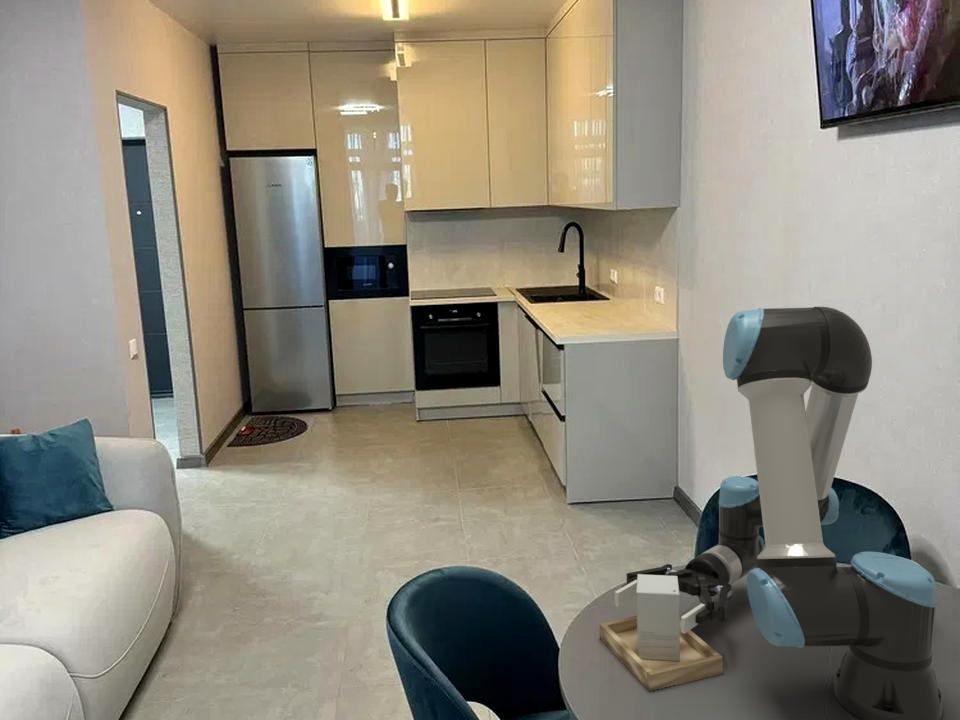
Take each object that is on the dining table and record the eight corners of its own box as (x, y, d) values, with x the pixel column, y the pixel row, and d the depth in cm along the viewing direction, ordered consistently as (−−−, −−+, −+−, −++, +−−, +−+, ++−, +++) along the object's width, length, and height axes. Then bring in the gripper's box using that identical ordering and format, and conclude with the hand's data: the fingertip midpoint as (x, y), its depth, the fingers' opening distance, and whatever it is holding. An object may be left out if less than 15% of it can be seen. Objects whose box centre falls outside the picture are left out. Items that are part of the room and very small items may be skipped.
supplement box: (678, 640, 142) (679, 575, 140) (680, 662, 135) (680, 594, 133) (637, 637, 144) (637, 572, 142) (636, 659, 137) (636, 591, 135)
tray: (722, 673, 133) (723, 657, 133) (650, 691, 129) (650, 675, 128) (665, 623, 150) (665, 609, 150) (599, 638, 146) (599, 623, 145)
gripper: (774, 611, 142) (713, 658, 127) (657, 570, 160) (591, 608, 145) (775, 572, 140) (713, 615, 126) (657, 536, 158) (591, 570, 144)
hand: (648, 612), depth 136 cm, fingers open, 13 cm apart
